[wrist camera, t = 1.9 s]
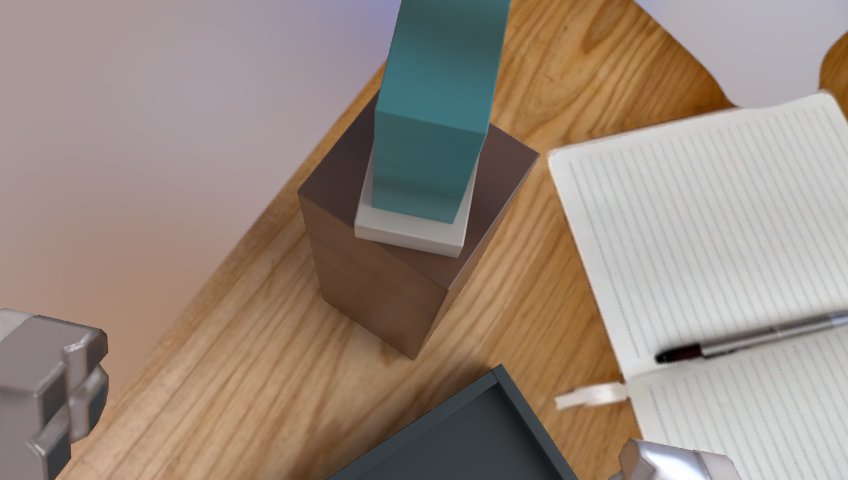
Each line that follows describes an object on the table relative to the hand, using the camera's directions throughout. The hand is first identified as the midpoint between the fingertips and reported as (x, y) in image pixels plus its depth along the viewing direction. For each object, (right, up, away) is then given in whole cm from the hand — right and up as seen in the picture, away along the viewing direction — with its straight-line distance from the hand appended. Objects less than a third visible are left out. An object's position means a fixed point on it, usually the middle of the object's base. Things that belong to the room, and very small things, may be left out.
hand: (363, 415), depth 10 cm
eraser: (+1, +5, +16) cm, 17 cm away
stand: (-1, 0, +33) cm, 33 cm away
